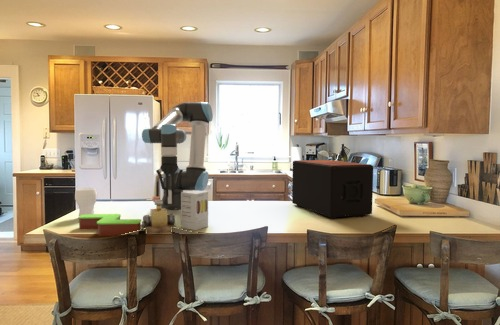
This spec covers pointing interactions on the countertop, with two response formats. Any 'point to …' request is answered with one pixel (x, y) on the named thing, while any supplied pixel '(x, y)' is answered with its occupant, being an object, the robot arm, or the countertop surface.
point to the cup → (86, 200)
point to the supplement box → (194, 209)
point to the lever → (157, 200)
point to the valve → (158, 217)
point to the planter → (109, 224)
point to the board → (158, 229)
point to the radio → (333, 187)
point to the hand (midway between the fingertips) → (169, 203)
